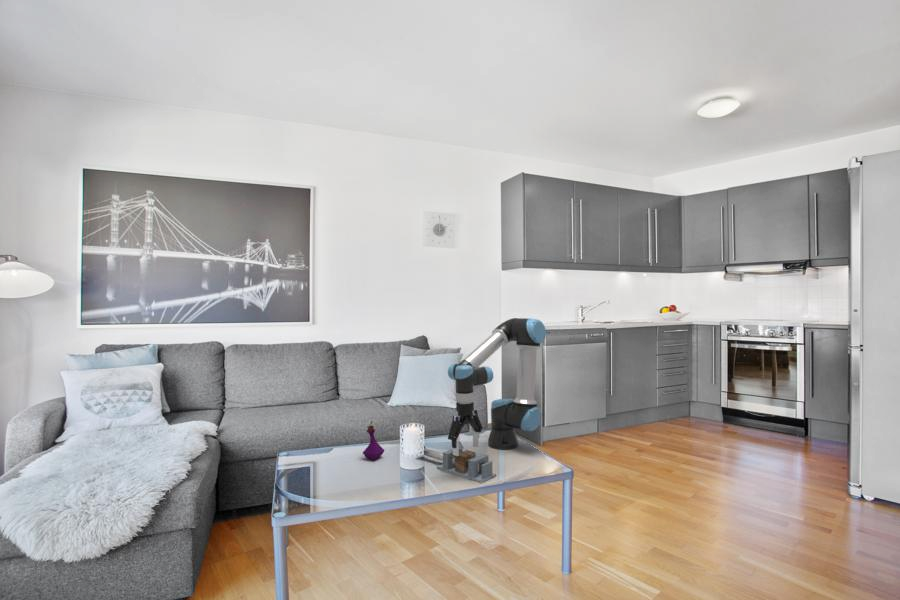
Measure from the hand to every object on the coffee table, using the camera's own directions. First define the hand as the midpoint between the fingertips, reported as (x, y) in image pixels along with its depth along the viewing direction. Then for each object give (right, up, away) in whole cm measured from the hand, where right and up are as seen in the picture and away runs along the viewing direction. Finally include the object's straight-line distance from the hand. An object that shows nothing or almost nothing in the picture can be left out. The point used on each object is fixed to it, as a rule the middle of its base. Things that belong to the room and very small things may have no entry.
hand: (466, 450), depth 202 cm
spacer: (0, -8, 0) cm, 8 cm away
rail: (0, -9, 0) cm, 9 cm away
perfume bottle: (-43, -10, +18) cm, 47 cm away
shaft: (-13, -8, +11) cm, 18 cm away
